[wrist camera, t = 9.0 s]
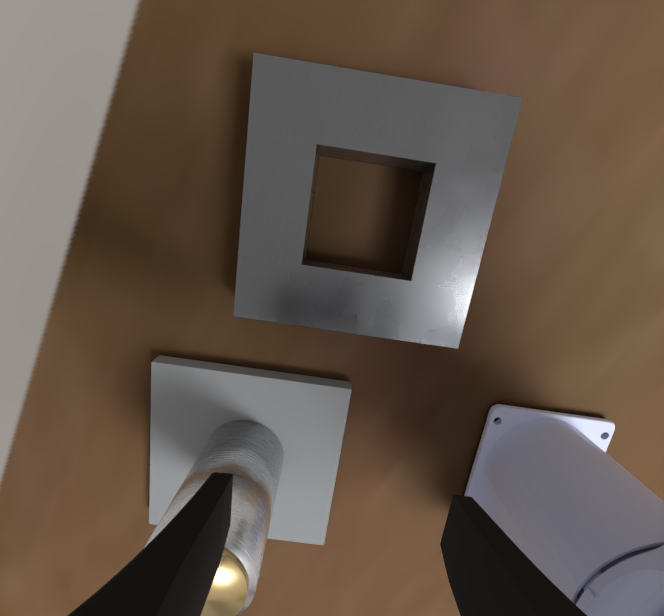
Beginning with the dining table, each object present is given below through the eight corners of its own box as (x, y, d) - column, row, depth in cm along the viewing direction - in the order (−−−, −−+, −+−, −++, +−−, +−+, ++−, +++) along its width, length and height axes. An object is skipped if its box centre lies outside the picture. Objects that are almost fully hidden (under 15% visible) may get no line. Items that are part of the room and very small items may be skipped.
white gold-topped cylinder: (276, 494, 22) (243, 642, 14) (200, 479, 22) (125, 621, 14) (291, 428, 21) (264, 552, 13) (211, 412, 20) (135, 527, 13)
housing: (442, 333, 20) (457, 348, 18) (245, 304, 20) (233, 316, 17) (496, 115, 17) (523, 97, 15) (265, 77, 17) (253, 52, 14)
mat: (324, 532, 24) (323, 545, 23) (156, 511, 23) (149, 523, 23) (351, 381, 21) (351, 389, 20) (159, 355, 21) (151, 361, 20)
